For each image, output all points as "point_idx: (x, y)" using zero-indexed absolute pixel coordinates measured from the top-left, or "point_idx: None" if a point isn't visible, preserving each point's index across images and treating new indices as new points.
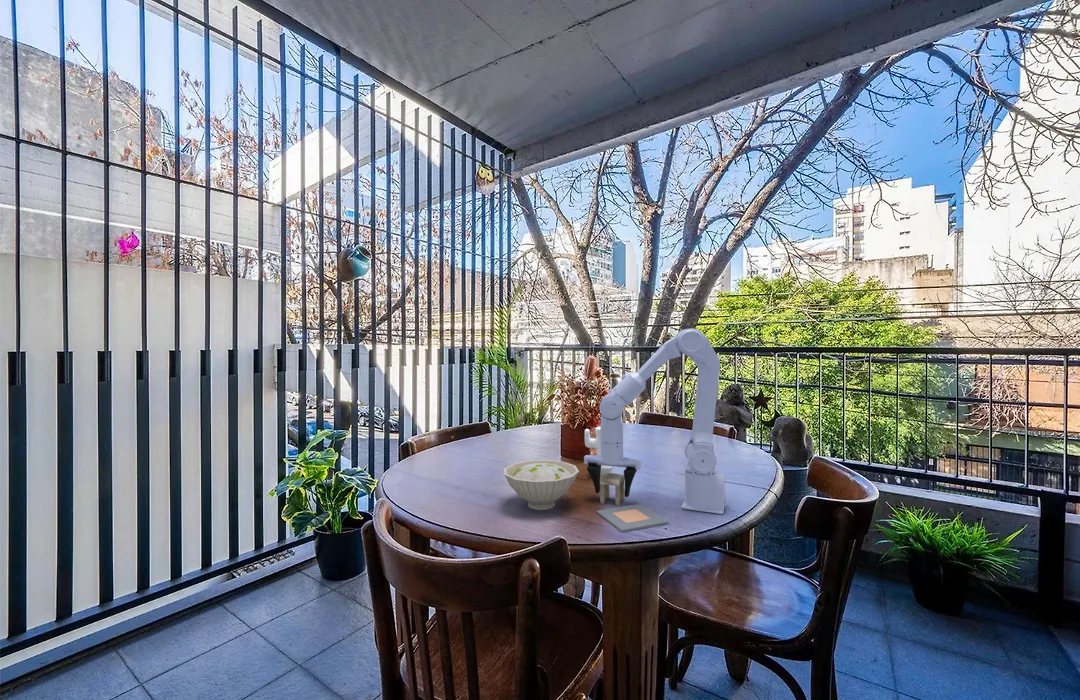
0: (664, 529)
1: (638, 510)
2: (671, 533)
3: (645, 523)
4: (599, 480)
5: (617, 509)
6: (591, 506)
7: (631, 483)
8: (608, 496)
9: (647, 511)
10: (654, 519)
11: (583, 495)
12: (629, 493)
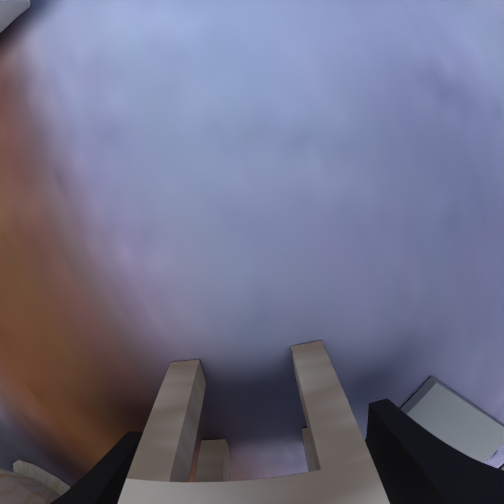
0: (490, 459)
1: None
2: (500, 460)
3: None
4: (117, 500)
5: None
6: None
7: (446, 446)
8: (203, 390)
9: (468, 426)
10: (480, 453)
11: (55, 386)
12: (394, 404)
